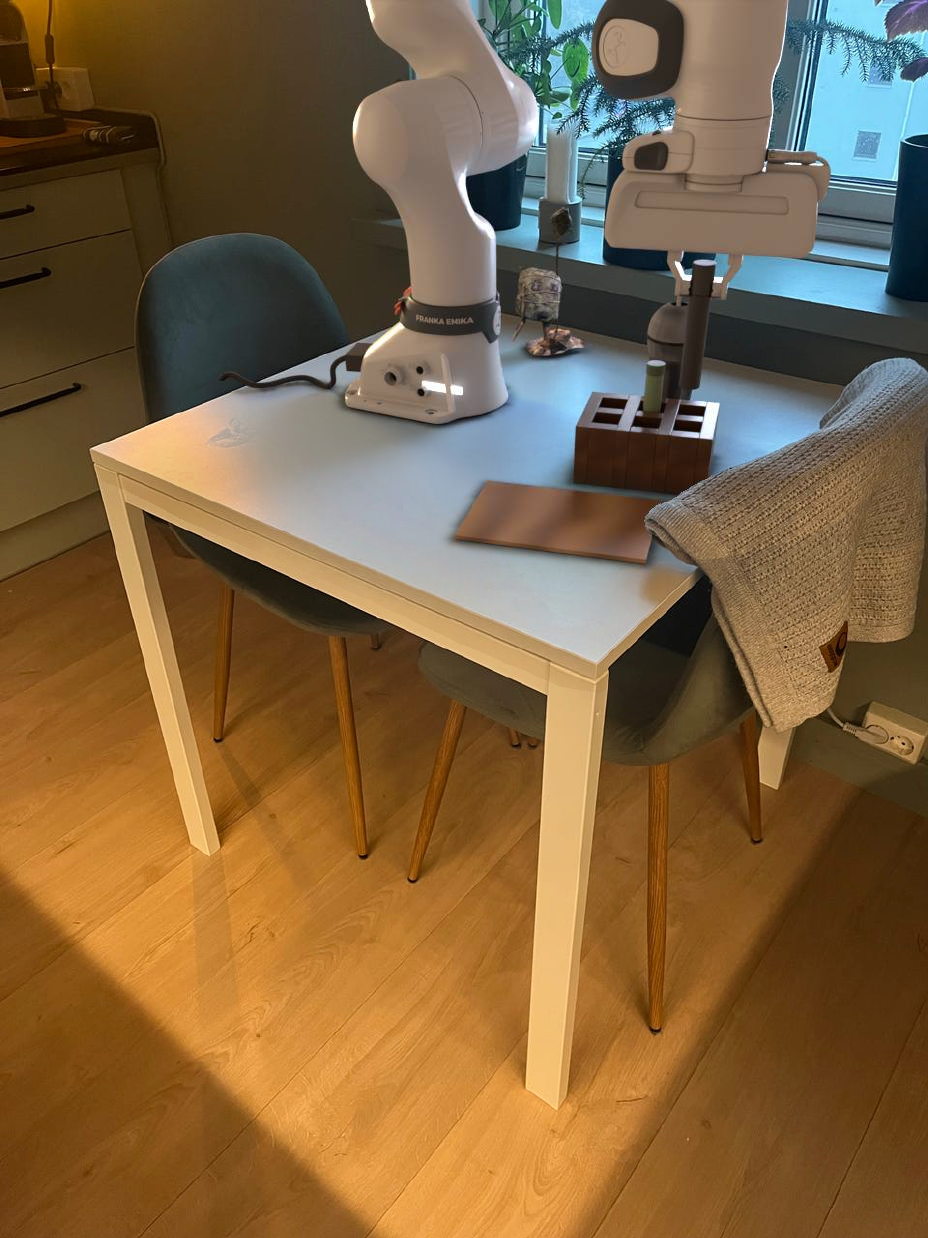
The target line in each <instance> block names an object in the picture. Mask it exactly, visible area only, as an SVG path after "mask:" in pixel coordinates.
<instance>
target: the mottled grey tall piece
mask: <svg viewBox="0 0 928 1238" xmlns="http://www.w3.org/2000/svg"><path fill="white" fill-rule="evenodd" d="M549 224H550V229H551V231H552V233H553V234H552V235H554V236H555V237H556V238H555V263H554V264H555V271H554V270H550V269H541V268H537V267H529V268H525V269H523V270H521V271H520V273H519V276H518V283H517V285H518V286H517V288H518V293H517V295H516V299H515V310H516V313H517V315H519V316H521V320H520V322H519V324H518V325H517V326H516V328H515V332H514V334H513V335H512V339H511V341H512V342H514V341H515V340H516V338H517V337H518V335H519V334H520V332H521V331H522V329H523V327H524V325H525V324H526V322H527V321H526V320H527V319H529V320H533V321H537V322H538V321H540V323H541V325H542V331H543V336H542V337H538V338H536V339H531V340H528V341H527V342H524V343H525V344H524V346H525V347H526V349H527V350H528V353H530V354H532V355H533V356H538V357H541V356H543V357H546V356H554V355H557V354H563V353H565V352H567V351H568V350H574V349H576V348H577V349H583V348H584V347H585V345H584V344H585V343H584V340H585V339H584V338H583V339H580V338H577V336H575V335H572V334H571V331H570V330H569V329H566V330H565V329H563V328H562V329H561V328H559V318H558V317H559V313H560V312H559V310H560V303H561V296H562V294H561V293H562V290H563V286H562V281H561V278H560V275H559V250H560V238H561V237H563V236H564V235H565V234H568V232H569V233H570V234H571V235H572V236H574V235H575V231H574V228H572V227H573V226H574V221H573V219H572V217H571V215H570V211H569V210H568V208H566V207H561V208H560V209H559V210H557V211H555V212H554V213H553V214H552V215H550V218H549ZM519 268H522V266H519ZM554 322H556V328H555V329H551V330H550V325H551V324H552V323H554Z"/></svg>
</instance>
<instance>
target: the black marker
mask: <svg viewBox="0 0 928 1238" xmlns="http://www.w3.org/2000/svg"><path fill="white" fill-rule="evenodd" d="M716 269H717V262H716V261H714V260H710V259H697V260H694V261H693V262H692V267H691V285H690V295H689V297H688V303H689V304H688V313H687V321H686V329H685V338H684V346H683V355H682V363H681V371H680V380H679V387H680V388H682V389H686V390H692V391H694V390H698V389H699V388H700V386H701V378H702V371H703V365H704V356H705V349H706V340H707V332H708V325H709V319H710V317H709V316H710V311H711V303H712V299H711V294H712V291H713V289H712V286H713V280H714V278H715V277H716Z"/></svg>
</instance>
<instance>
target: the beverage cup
mask: <svg viewBox="0 0 928 1238" xmlns="http://www.w3.org/2000/svg"><path fill="white" fill-rule="evenodd" d="M681 267H682V270H683V272H684V273H685V266H681ZM688 304H689V302H688V301H684V300H682V296H676V300H674V301H670V302H667V303H665V304H663V305H662V306H661V307H660V308H658V309H657V310H656V311H655V312H654V314H653V315H652V316H651V318H650V321H649V324H648V327H647V331H646V334H645V338H646V345H647V353H648V361H651V360H660V361H663V362H665V374H664V380H663V390H662V398H668V399H680V400H691V399H692V393H693V390H686V389H682V388H680V387H679V380H680V371H681V363H682V355H683V346H684V338H685V329H686V321H687V313H688Z"/></svg>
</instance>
